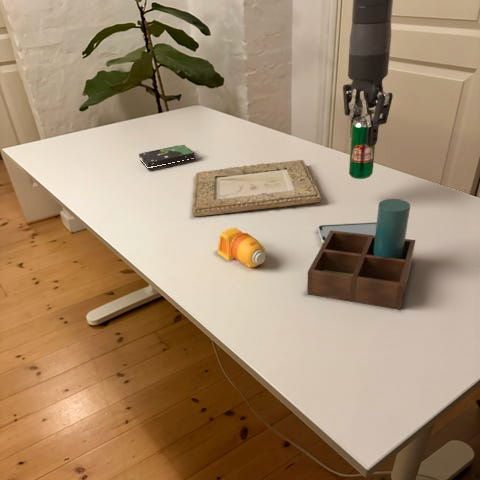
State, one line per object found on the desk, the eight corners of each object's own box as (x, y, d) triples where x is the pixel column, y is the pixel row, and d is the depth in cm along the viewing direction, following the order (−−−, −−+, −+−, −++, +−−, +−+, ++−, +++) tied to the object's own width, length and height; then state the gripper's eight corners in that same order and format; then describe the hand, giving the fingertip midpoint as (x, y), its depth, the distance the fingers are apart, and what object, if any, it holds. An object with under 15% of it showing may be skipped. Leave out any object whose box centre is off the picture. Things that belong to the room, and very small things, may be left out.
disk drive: (149, 172, 135) (196, 161, 139) (146, 163, 133) (194, 151, 137) (140, 162, 143) (185, 152, 147) (138, 153, 141) (183, 143, 145)
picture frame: (196, 177, 129) (194, 168, 127) (303, 165, 128) (303, 155, 127) (193, 219, 108) (191, 209, 106) (322, 204, 107) (322, 193, 106)
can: (402, 262, 84) (412, 200, 77) (398, 276, 81) (408, 212, 73) (374, 258, 86) (381, 197, 79) (369, 272, 83) (376, 209, 75)
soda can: (348, 180, 101) (352, 122, 94) (348, 171, 105) (351, 115, 97) (372, 179, 100) (377, 121, 93) (372, 171, 104) (376, 114, 96)
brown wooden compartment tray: (411, 262, 85) (415, 239, 82) (400, 309, 74) (403, 285, 72) (329, 251, 91) (330, 230, 88) (307, 294, 80) (307, 271, 77)
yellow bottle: (273, 266, 88) (237, 243, 96) (272, 241, 85) (235, 219, 93) (250, 277, 86) (215, 252, 94) (248, 251, 82) (212, 228, 90)
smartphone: (399, 238, 91) (322, 242, 91) (398, 242, 92) (322, 246, 92) (389, 221, 97) (317, 225, 97) (388, 225, 97) (317, 229, 98)
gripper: (410, 50, 83) (399, 146, 93) (364, 43, 94) (358, 130, 104) (375, 57, 81) (367, 154, 92) (332, 49, 92) (329, 137, 102)
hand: (363, 141), depth 98 cm, fingers closed on soda can, 5 cm apart
